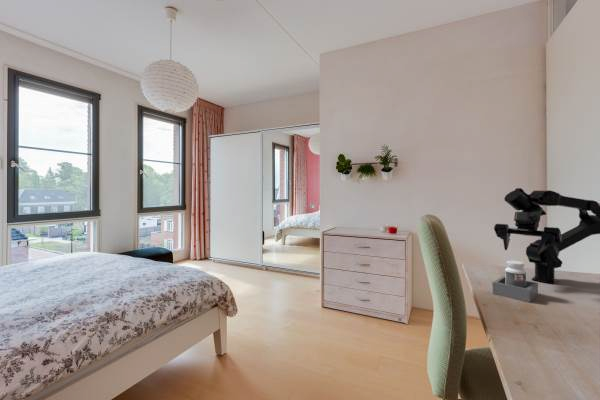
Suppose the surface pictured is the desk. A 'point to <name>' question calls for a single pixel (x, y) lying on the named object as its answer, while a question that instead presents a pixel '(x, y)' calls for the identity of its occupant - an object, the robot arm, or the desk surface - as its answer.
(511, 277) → the pill bottle
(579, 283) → the desk surface
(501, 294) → the bottle holder
